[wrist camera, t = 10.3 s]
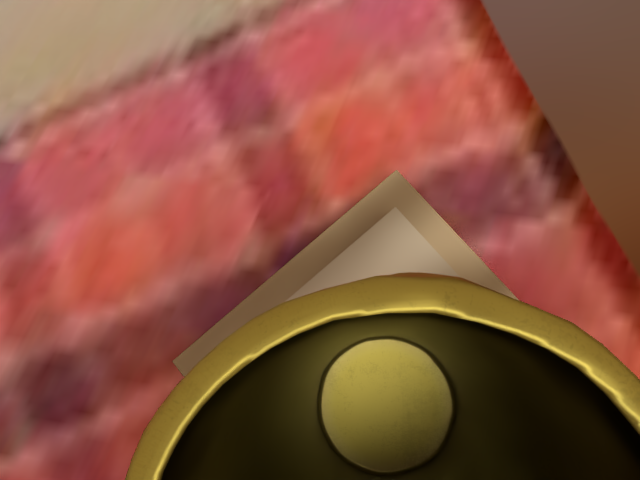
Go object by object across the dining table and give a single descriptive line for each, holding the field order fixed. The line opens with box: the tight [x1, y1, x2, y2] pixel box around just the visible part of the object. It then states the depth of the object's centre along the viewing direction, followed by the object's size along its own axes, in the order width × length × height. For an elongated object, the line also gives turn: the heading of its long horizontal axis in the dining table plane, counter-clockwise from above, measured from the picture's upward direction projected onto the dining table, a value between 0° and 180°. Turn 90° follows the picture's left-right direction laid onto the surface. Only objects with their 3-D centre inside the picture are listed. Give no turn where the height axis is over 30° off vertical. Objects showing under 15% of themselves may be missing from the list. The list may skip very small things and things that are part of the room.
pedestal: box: [172, 170, 518, 377], centre depth 28 cm, size 16×16×6 cm
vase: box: [125, 272, 640, 480], centre depth 11 cm, size 6×6×14 cm
